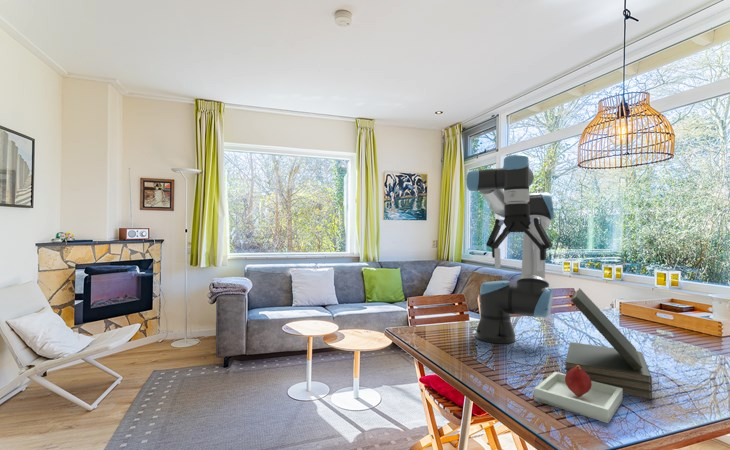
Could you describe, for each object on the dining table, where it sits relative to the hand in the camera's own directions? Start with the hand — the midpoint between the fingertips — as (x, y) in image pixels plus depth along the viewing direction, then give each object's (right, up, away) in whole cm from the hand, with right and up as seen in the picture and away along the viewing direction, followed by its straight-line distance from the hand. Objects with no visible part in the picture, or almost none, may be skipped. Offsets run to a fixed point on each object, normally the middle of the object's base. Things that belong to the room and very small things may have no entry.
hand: (518, 269), depth 116 cm
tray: (+5, -31, -24) cm, 39 cm away
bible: (+23, -32, -8) cm, 40 cm away
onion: (+5, -30, -24) cm, 38 cm away
